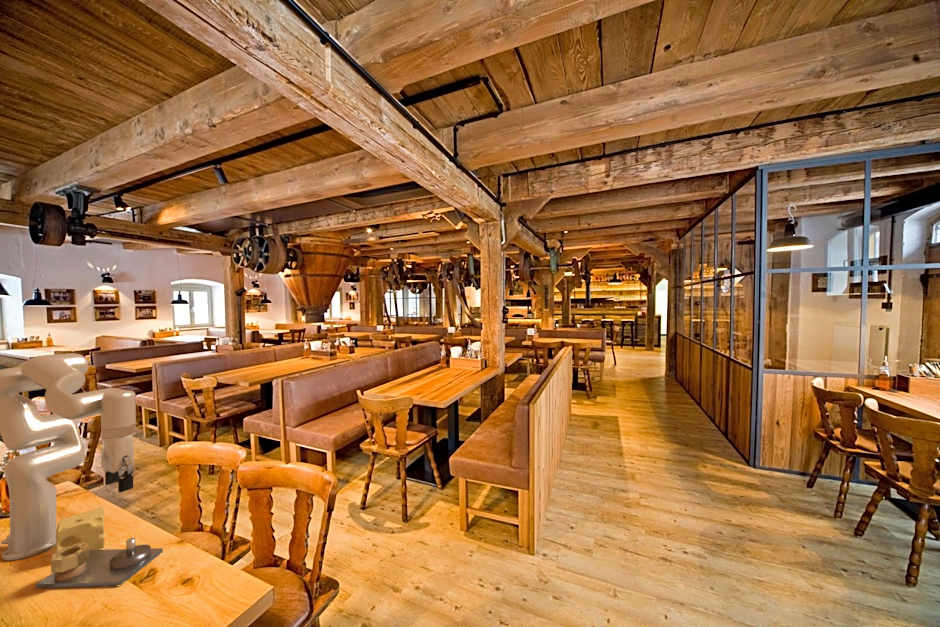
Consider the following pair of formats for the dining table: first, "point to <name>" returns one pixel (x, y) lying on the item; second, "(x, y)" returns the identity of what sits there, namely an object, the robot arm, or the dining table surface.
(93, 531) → the cheese
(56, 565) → the collar
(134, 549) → the hub
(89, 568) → the plate
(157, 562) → the dining table surface
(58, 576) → the brown rounded dome
